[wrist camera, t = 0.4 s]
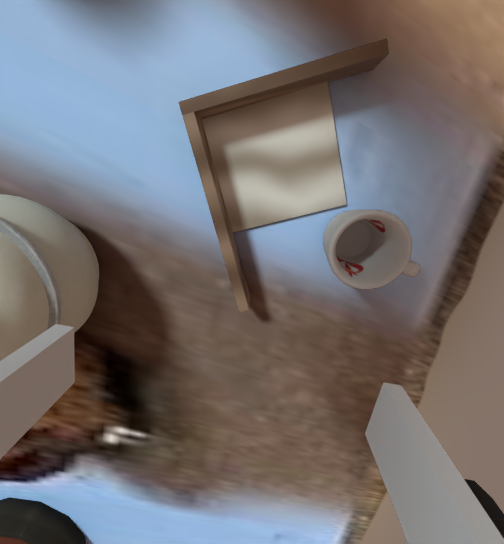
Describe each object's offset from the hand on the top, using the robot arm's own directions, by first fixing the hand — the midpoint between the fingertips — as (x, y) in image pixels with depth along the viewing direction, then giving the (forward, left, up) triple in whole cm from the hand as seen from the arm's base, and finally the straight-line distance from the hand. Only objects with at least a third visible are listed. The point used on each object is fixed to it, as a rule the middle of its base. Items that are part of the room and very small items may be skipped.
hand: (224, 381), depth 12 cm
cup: (+2, +13, -26) cm, 29 cm away
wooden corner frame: (-5, +7, -26) cm, 27 cm away
